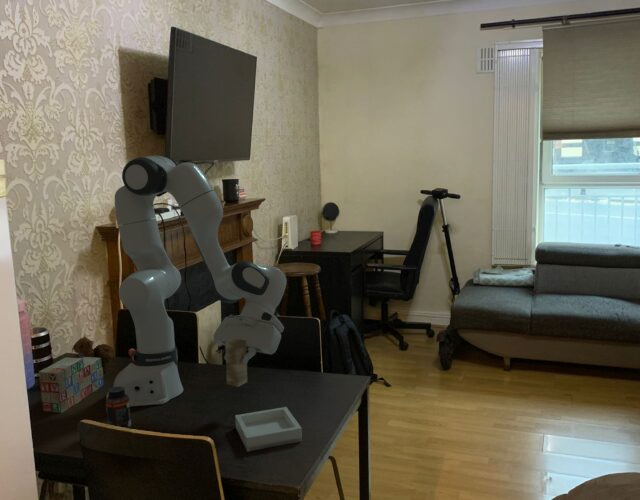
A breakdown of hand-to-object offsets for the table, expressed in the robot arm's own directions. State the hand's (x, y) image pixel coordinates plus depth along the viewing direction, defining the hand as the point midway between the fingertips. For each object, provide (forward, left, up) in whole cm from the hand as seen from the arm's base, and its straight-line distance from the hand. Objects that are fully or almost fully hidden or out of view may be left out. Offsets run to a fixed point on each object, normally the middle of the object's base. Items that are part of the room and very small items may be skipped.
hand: (234, 361), depth 169 cm
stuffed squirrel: (-39, +50, -15) cm, 65 cm away
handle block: (0, +1, -6) cm, 6 cm away
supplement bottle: (-31, +2, -15) cm, 35 cm away
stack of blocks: (-44, +31, -15) cm, 55 cm away
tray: (+5, -16, -15) cm, 22 cm away
